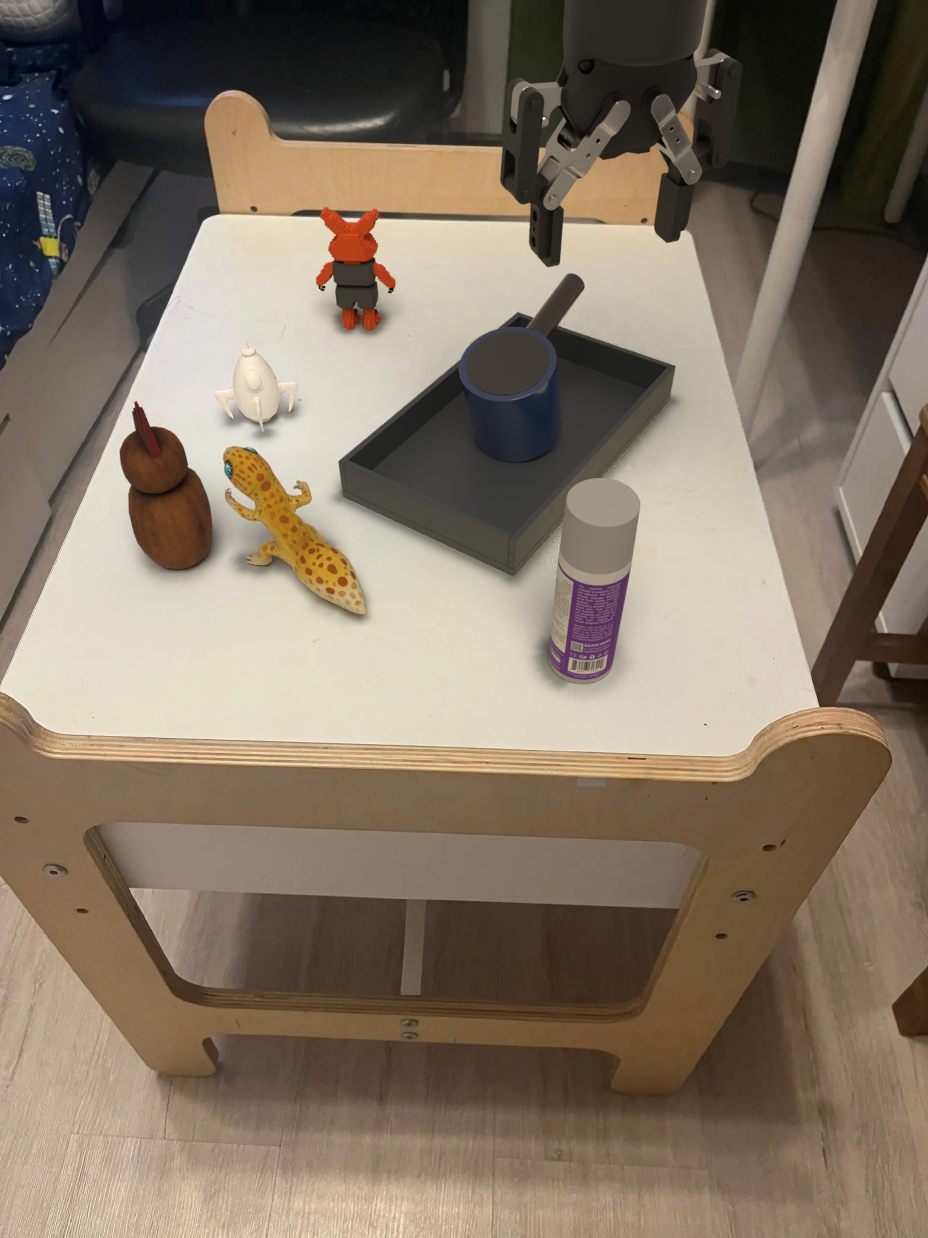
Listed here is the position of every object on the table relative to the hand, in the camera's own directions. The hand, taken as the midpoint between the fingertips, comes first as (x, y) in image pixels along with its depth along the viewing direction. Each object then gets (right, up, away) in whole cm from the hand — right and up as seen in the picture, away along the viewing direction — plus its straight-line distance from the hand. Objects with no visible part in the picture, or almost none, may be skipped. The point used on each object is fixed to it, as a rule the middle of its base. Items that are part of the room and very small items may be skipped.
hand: (607, 248), depth 59 cm
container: (-1, -27, +7) cm, 28 cm away
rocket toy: (-28, -5, +27) cm, 39 cm away
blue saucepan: (-3, -4, +23) cm, 24 cm away
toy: (-21, -21, +13) cm, 32 cm away
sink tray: (-5, -8, +24) cm, 25 cm away
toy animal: (-20, +8, +38) cm, 44 cm away
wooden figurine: (-32, -19, +15) cm, 40 cm away
